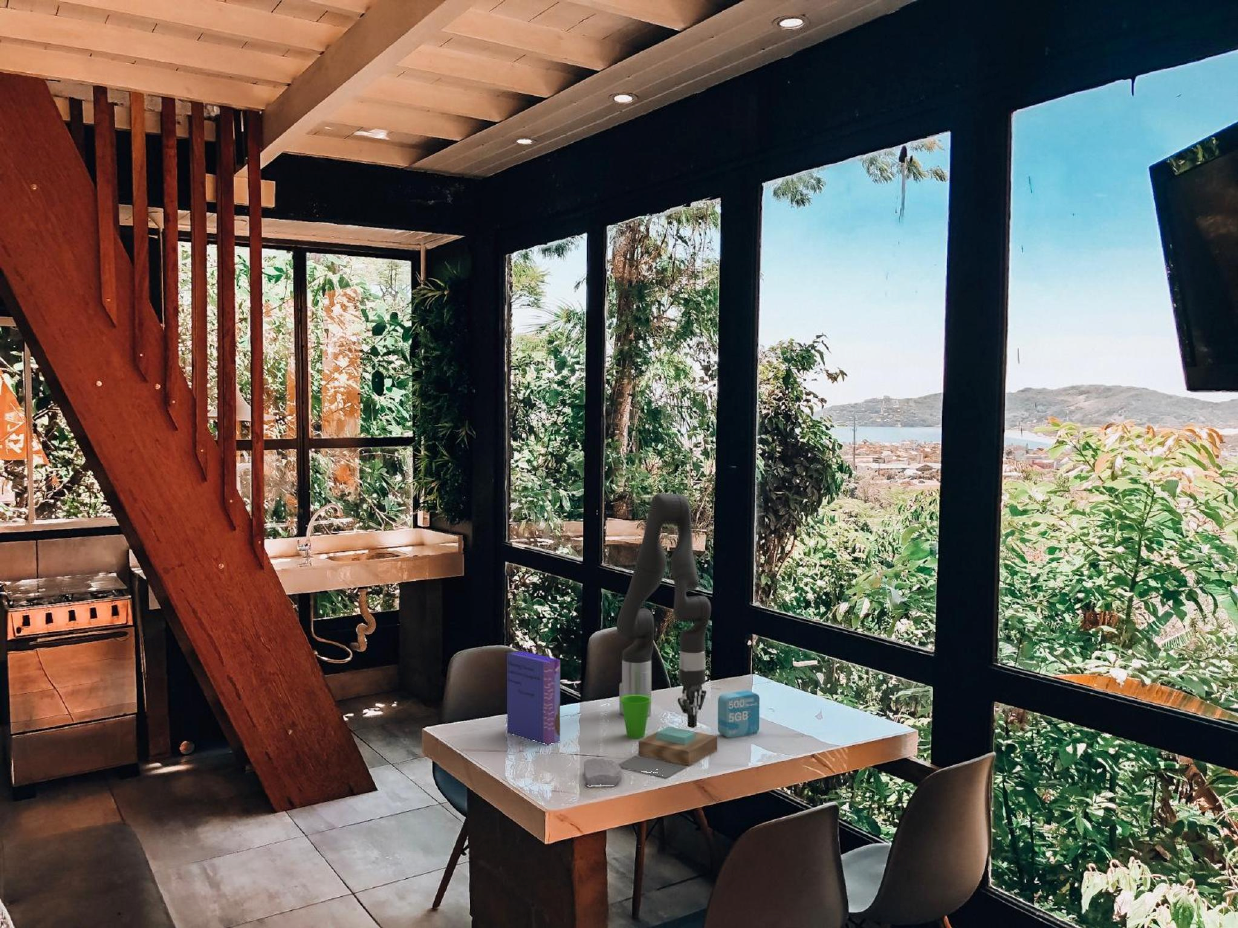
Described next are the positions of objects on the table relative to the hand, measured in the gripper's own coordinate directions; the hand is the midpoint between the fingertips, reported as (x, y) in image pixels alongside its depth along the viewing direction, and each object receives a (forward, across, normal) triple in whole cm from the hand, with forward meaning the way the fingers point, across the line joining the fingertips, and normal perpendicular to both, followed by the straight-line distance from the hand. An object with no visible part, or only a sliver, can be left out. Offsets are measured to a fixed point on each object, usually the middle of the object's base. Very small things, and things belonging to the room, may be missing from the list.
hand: (692, 726), depth 281 cm
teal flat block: (+1, +8, 0) cm, 9 cm away
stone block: (+6, +36, -6) cm, 37 cm away
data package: (+6, -18, +6) cm, 19 cm away
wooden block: (+5, +8, 0) cm, 9 cm away
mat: (+6, +22, 0) cm, 23 cm away
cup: (+6, +1, -18) cm, 19 cm away
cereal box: (+5, +19, -42) cm, 47 cm away
